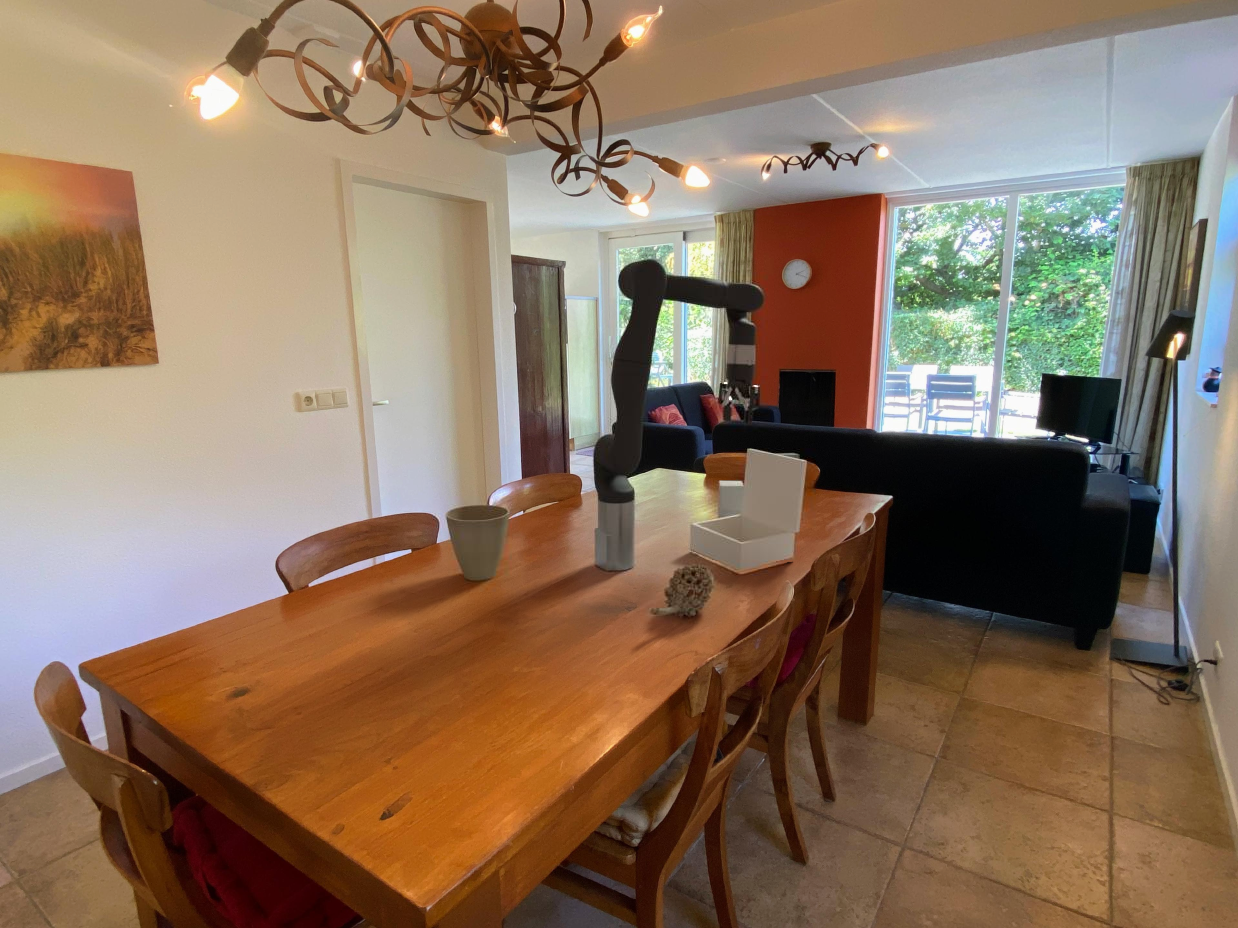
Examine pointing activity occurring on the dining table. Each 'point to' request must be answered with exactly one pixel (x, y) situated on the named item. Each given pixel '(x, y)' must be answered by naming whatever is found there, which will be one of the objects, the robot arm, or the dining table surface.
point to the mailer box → (725, 546)
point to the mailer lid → (774, 488)
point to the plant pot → (478, 538)
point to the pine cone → (687, 591)
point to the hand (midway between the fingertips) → (737, 422)
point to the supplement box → (730, 498)
